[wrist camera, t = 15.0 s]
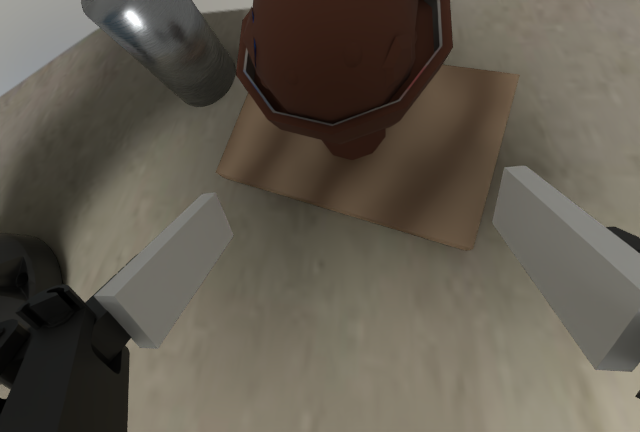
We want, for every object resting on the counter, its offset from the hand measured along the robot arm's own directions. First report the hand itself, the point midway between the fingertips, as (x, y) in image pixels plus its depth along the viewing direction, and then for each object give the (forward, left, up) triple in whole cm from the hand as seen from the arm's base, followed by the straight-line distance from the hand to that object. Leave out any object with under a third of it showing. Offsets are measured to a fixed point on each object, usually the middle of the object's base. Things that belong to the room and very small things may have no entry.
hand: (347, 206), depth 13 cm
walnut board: (-3, +8, -10) cm, 13 cm away
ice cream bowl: (-3, +8, -8) cm, 12 cm away
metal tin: (-21, +11, -10) cm, 26 cm away
